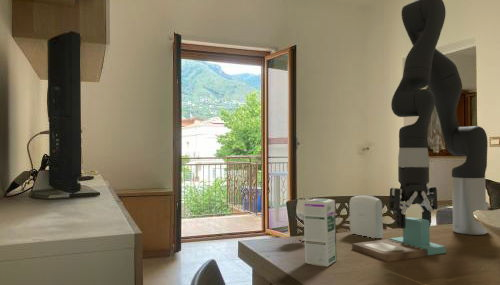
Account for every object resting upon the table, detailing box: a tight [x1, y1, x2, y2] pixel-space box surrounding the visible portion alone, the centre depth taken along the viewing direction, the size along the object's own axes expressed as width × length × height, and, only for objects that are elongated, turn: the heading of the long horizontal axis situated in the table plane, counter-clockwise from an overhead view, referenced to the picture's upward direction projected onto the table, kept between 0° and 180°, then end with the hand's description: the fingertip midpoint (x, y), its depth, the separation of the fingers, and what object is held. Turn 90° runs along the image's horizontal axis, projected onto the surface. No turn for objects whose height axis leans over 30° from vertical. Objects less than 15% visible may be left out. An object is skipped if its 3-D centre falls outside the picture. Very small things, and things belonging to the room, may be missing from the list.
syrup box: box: [303, 198, 338, 267], centre depth 91 cm, size 6×6×14 cm
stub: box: [388, 216, 447, 256], centre depth 103 cm, size 6×13×8 cm, turn 23°
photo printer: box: [348, 194, 384, 239], centre depth 119 cm, size 10×4×12 cm, turn 39°
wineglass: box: [295, 197, 314, 240], centre depth 114 cm, size 6×6×12 cm
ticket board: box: [351, 238, 427, 262], centre depth 99 cm, size 12×13×2 cm
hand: (413, 227), depth 103 cm, fingers open, 8 cm apart
